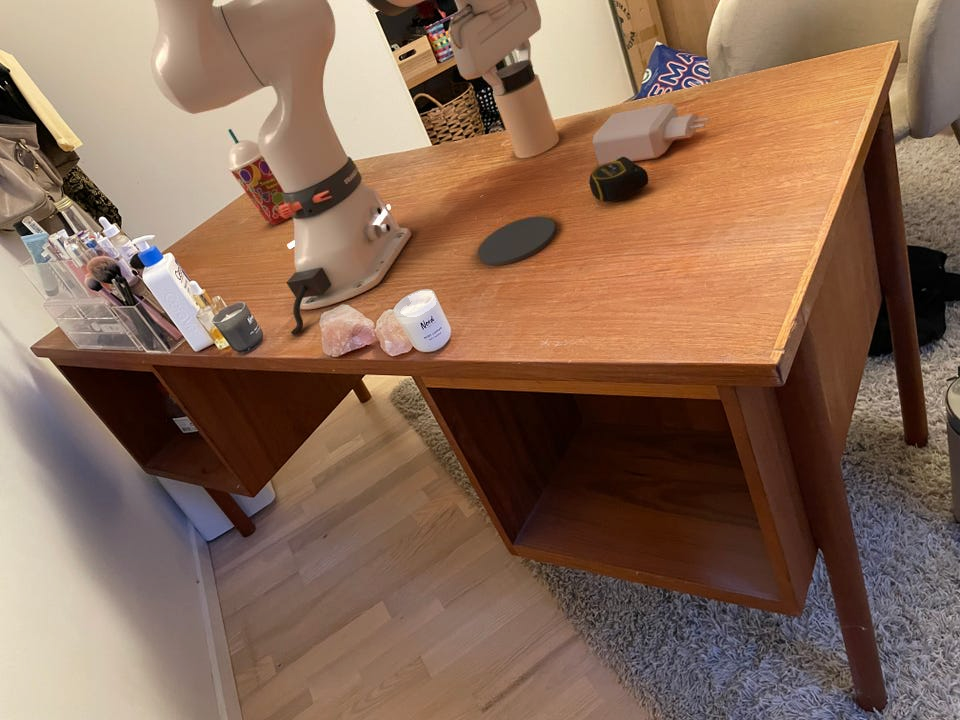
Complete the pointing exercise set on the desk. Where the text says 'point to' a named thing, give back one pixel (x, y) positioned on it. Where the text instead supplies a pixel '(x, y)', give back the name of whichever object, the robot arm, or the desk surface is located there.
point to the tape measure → (617, 180)
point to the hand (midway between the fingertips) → (515, 82)
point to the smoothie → (256, 179)
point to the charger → (642, 133)
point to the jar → (527, 119)
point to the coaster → (517, 241)
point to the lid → (516, 74)
